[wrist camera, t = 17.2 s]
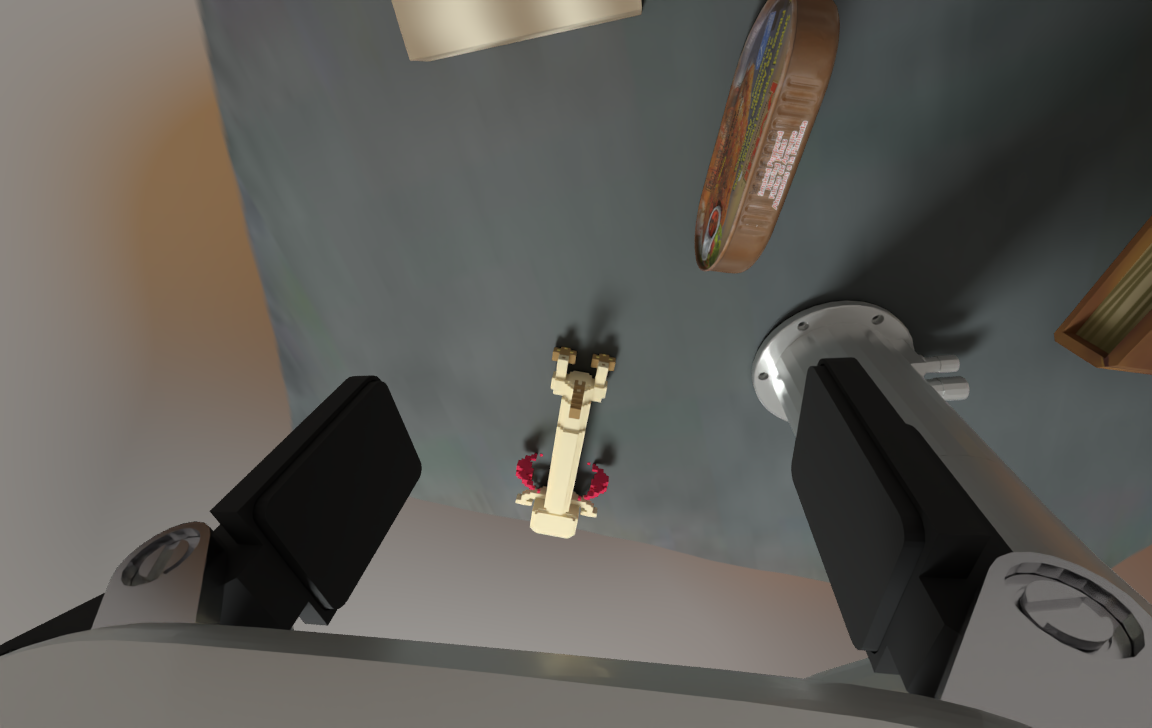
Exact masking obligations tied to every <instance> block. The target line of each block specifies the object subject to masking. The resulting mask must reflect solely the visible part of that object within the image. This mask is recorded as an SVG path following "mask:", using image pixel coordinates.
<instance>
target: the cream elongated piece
mask: <svg viewBox="0 0 1152 728" xmlns="http://www.w3.org/2000/svg"><path fill="white" fill-rule="evenodd" d="M576 354H577V351H574V350H571V348H566V347H561V348H557V347H554V351H553V357H552V360H554V361H558V363H557V371H556V372H555V371H554V373H553V377H552V383H551V389H554V390H553V394H557V395H562V401H561V407H560V413H559V419H558V425H557V430H556V437H555V443H554V449H553V455H552V461H551V467H550V473H549V479H548V486H547V487H544V486H543V488H540V489H535V486H533V481H532V475H533V469H534V468H532V462H530V461H531V460H533V461H536V458H537V453H535V454H534V455H531V456H527V455H526V456H525V459H522V460H519V461H518V464H517V471H516V476H518V478H519V479H522V483H523V484H525V486H526V487H529V489H531V490H525V491H523V492H522V494H518V495H517V498H516V503H518V504H522V505H529V506H531V505H532V501H533V499H535V502H534V506H533V510H532V517H531V524H530V528H532V530H534V531H535V533H540V534H546V535H551V536H557V537H563V538H569V537H572V535H575V530H576V526H577V521H578V514H579V506H580V507H581V515H585V516H589V517H596V516H597V508H596V507H593V506H594V504H593V503H591V501H587V500H590V498H595V497H598V495H599V493H602V494H603V493H604V492H606V489H607V486H608V480H609V476H606V473H603V469H599V468H598V466H596V464H593V467H592V471H594V472H597V474H595V476H594V479H592V480H591V487H590V491H588V493H587V495H583V497H581V496H578V494H576V492H573V488H574V484H575V479H576V474H577V469H578V464H579V460H580V455H581V450H582V445H583V440H584V435H585V430H586V425H587V420H588V415H589V410H590V406H591V401H596V402H601V399H602V398H605V394H606V390H607V381H606V377H607V373H608V370H609V371H614V367H615V360H616V358H613V357H609V355H605V354H599V355H596V354H593V357H592V362H591V367H593V368H597V371H596V376H595V379H594V378H592V375H589V373H585V372H579V371H573V372H570V374H567V368H568V363H570V364H575V360H576ZM540 456H543V454H540ZM587 465H590V463H589V462H588V464H587Z"/></svg>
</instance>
